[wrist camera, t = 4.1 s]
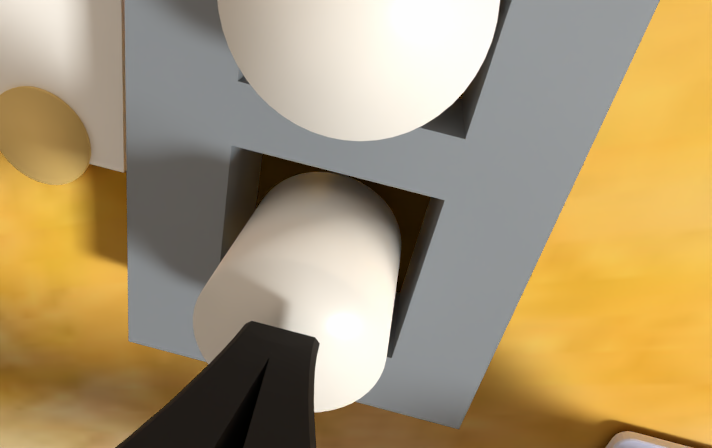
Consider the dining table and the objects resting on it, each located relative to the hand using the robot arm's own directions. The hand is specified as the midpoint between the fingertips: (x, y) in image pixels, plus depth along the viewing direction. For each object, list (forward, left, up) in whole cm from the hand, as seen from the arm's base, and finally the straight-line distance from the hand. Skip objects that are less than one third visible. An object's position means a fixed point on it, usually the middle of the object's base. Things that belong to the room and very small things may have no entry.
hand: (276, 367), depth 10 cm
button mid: (+7, 0, -5) cm, 8 cm away
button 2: (0, 0, -5) cm, 5 cm away
